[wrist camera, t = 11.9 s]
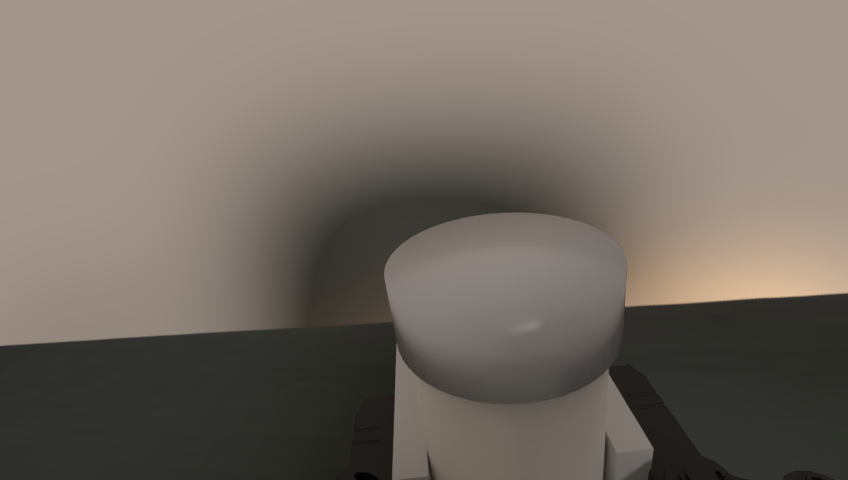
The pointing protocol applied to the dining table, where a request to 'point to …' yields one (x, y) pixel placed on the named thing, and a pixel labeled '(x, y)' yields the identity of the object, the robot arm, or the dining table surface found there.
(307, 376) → the dining table surface
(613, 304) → the fuse
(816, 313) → the dining table surface
